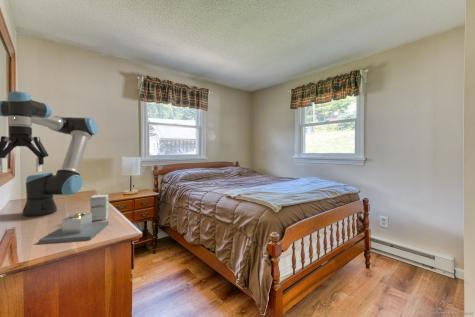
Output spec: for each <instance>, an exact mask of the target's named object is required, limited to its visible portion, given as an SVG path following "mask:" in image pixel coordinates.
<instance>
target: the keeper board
mask: <svg viewBox="0 0 475 317" xmlns="http://www.w3.org/2000/svg"><path fill="white" fill-rule="evenodd" d="M108 225H109V220H104V221H92V226H90V227H89V228H87V229H86V230H84V231H83V232H81V233H70V234H62V226H60V227H59V228H57V229H55V230H54V231H51V232H50V233H49V234H47V235H45V236H43V237H41V238H40V239H38V243H39V244H54V243H66V242H80V241H81V242H82V241H90V240H93V239H94V237H96V236H97V235H98V234H100V233H101V231H102V230H104V229H105V228H107V226H108Z"/></svg>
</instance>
